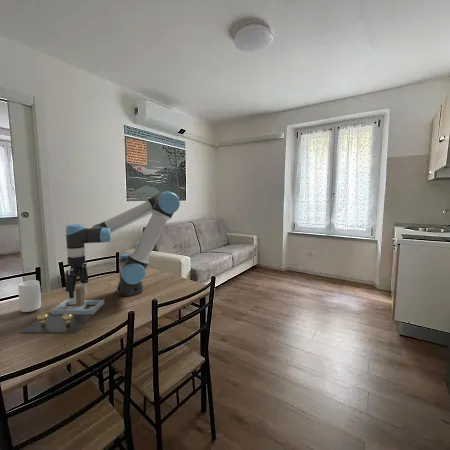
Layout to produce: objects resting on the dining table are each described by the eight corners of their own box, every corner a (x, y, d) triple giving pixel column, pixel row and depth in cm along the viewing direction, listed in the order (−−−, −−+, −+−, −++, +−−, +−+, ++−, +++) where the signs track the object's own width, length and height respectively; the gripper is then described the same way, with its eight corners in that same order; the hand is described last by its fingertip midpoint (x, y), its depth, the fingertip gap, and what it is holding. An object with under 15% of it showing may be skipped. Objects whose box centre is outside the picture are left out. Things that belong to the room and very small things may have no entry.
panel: (93, 314, 118) (92, 292, 117) (50, 314, 118) (49, 292, 116) (104, 303, 130) (103, 283, 129) (65, 303, 129) (64, 283, 128)
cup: (24, 316, 115) (21, 287, 114) (17, 311, 120) (14, 283, 118) (45, 309, 122) (43, 282, 121) (37, 305, 127) (35, 278, 125)
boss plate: (91, 316, 117) (91, 305, 116) (75, 332, 103) (74, 320, 102) (44, 316, 116) (43, 305, 115) (20, 332, 102) (19, 320, 101)
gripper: (80, 250, 131) (82, 290, 134) (54, 261, 110) (57, 309, 112) (94, 250, 132) (96, 291, 134) (71, 261, 110) (73, 309, 113)
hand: (78, 299), depth 123 cm, fingers open, 9 cm apart
